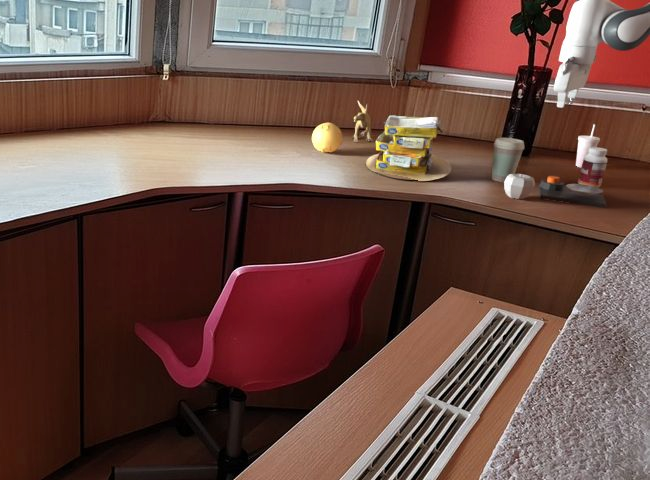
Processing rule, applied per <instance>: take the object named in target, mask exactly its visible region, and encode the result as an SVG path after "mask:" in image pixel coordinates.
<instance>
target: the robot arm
mask: <svg viewBox="0 0 650 480" xmlns="http://www.w3.org/2000/svg"><path fill="white" fill-rule="evenodd" d="M649 37H650V2H648V3H647V4H645V5H643V6H641V7H638V8H635V9H626V8H624V7H623V6H622V7H621V6H620V5H618V4H616V3H614V2H613V1H612V0H575V1H574V3H573V5H572V7H571V9H570V12H569V15H568V18H567V23H566V28H565V37H564V39H563V41H562V44H561V48H560V52H559V56H558V62H561V64H560V65H559V67H558V71H557V74H556V77H555V80H554V85H553V91H554V92H555V93H557V103H556V107H557V108H561V109H563V108H565V107H566V105H573V104H574V102H575V99H576V97H577V94H578V93H579V89H582V88H584V87H585V86H586V83H587V81H588V78H589V75H590V72H591V68H592V65H593V64H594V63H595V62H596V58H597V49H598V45H599V44H600V43H604V44H606V45H607V46H609V47H610V48H611V49H613V50H615V51H620V52H626V51H627V52H628V51H630V50H634V49H636V48H638V47H639V46H641V45H642V44H643V43H644V42H645V41H646V40H647V39H648V38H649Z"/></svg>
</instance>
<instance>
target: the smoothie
mask: <svg viewBox="0 0 650 480" xmlns="http://www.w3.org/2000/svg"><path fill="white" fill-rule="evenodd" d="M595 129H596V123H593V124H592V129H591V133H590V135H578V138H577V140H578V141H577V151H576V159H575V167H576V166H577V167H576V168H580V169H581V167H582V163H583V159H584V157H585V156H586V155H588V154H589V153H588V151H589V148H590V147H597V146H598V145H599V143H601V142H600V141H601V138H600V137H598V136H594V132H595Z"/></svg>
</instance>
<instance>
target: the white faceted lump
mask: <svg viewBox="0 0 650 480" xmlns="http://www.w3.org/2000/svg"><path fill="white" fill-rule="evenodd" d="M535 186H536V182H535V178H534V177H533V176H531V175H527V174H522V173H515V174H509V175H508V176H507V178H506V179H505V181H504V182H503V188H504V192H505V195H506V196H507V197H509V198H511V199H514V198H515V199H514V200H525V199H526V198H527V197H528V196H529V195H530V194H531V193H532V191H533V189H534V187H535Z"/></svg>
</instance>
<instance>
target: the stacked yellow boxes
mask: <svg viewBox="0 0 650 480" xmlns="http://www.w3.org/2000/svg"><path fill="white" fill-rule="evenodd" d="M383 124H384V130H383V132H382V133H380V135H379V136H378V137H377V138H376V140H375V150H376V151H379V153H376V154H373V155H370V156H369V157H368V158H367V159H366V161H365V165H366V167H367V168H368V169H369V170H370V172H372V171H374V172H380V173H383V174H385V173H386V174H391V175H398V176H403V177H408V178H411V179H415V180H418V181H417V182H428V181H433V180H438V179H439V180H440V179H442V178H444V177H446V176H448V175H449V174H450V173H451V171H452V166H451V164H450V163H449V162H448V161H446V160H445V159H443V158H442V157H439V156H437V155H433V154H432V151H433V142H434V141H433V140H434V139H436V138H437V136H438V131H439V132H440V133H441V134H445V131H444V128H443V125H442V123H441V121H440V118H438V116H430V117H429V116H428V117H423V116H421V117H420V116H418V117H417V116H404V115H401V116H400V115H394V114H392V115H389V116H388V117H387V120H385V121H384V122H383ZM374 172H373V173H374Z"/></svg>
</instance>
